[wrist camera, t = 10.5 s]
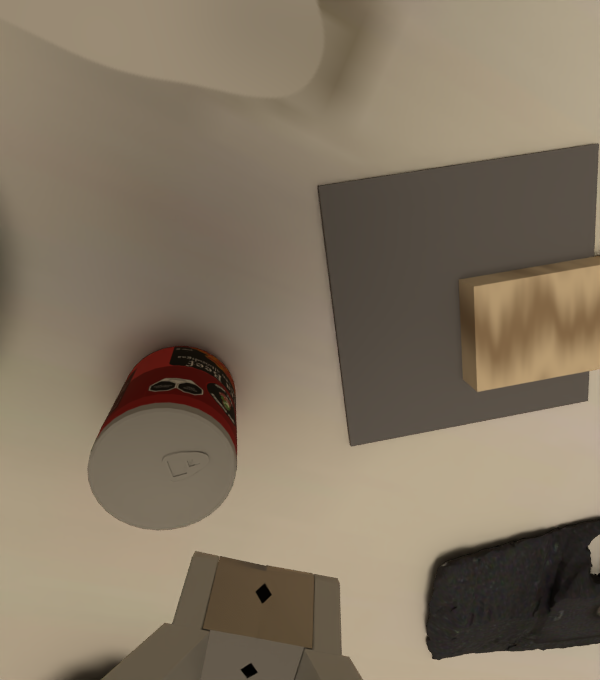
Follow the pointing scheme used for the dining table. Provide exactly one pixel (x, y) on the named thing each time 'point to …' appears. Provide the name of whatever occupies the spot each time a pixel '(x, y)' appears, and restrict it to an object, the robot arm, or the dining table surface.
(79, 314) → the dining table surface
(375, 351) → the rubber mat
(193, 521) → the canned food
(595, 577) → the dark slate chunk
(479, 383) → the beech tile
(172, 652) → the robot arm
